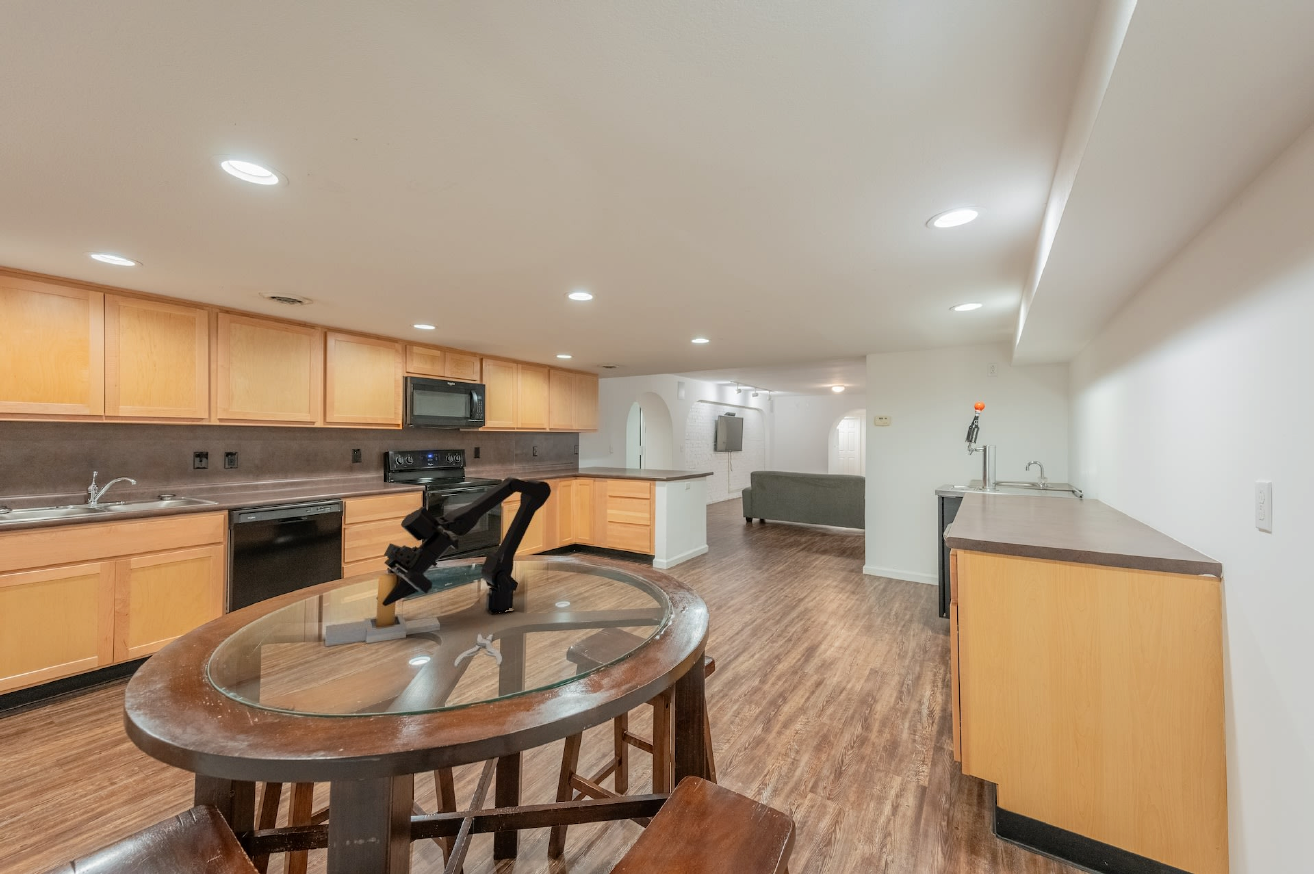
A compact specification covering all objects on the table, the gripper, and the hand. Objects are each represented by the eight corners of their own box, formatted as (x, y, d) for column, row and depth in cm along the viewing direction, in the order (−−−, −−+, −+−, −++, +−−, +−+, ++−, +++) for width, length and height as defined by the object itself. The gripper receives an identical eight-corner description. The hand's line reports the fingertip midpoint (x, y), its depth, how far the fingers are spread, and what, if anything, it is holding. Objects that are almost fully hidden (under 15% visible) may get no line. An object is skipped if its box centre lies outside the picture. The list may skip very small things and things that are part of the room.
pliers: (453, 661, 111) (464, 634, 125) (453, 668, 111) (463, 640, 125) (501, 660, 113) (506, 633, 128) (500, 667, 113) (505, 640, 128)
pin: (396, 625, 128) (399, 573, 128) (390, 631, 124) (393, 578, 124) (380, 625, 127) (383, 572, 127) (372, 631, 123) (375, 577, 123)
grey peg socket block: (434, 621, 136) (435, 609, 136) (441, 632, 129) (441, 620, 129) (325, 635, 122) (325, 623, 122) (325, 649, 115) (326, 636, 115)
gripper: (395, 525, 135) (344, 573, 127) (421, 538, 122) (367, 593, 114) (424, 551, 141) (377, 599, 133) (452, 567, 127) (403, 621, 120)
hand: (380, 602), depth 125 cm, fingers closed on pin, 4 cm apart
